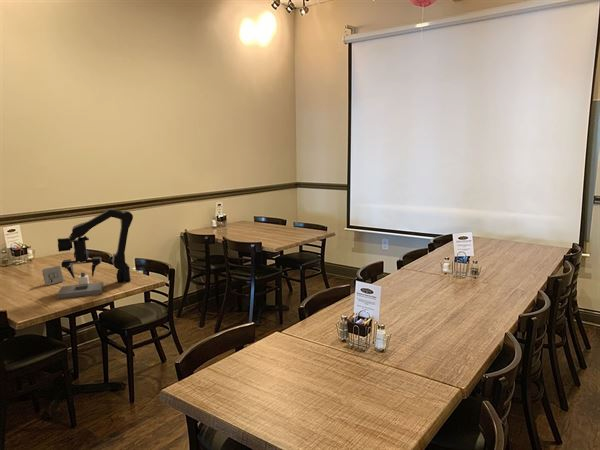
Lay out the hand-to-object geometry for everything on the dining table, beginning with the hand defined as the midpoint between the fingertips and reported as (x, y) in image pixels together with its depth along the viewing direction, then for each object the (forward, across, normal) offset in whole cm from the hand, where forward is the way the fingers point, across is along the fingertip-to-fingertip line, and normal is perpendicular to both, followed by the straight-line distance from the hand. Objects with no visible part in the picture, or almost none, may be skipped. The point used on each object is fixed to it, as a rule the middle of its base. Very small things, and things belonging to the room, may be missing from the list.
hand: (83, 277), depth 242 cm
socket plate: (+5, 0, +10) cm, 11 cm away
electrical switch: (+6, +18, -14) cm, 24 cm away
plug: (+6, 0, 0) cm, 6 cm away
